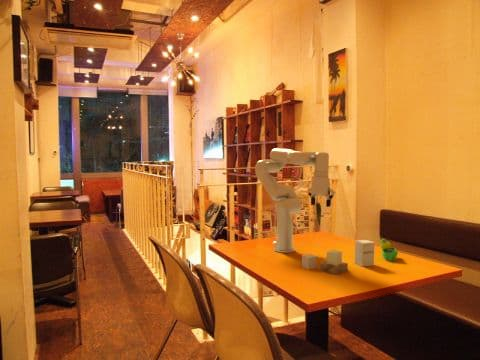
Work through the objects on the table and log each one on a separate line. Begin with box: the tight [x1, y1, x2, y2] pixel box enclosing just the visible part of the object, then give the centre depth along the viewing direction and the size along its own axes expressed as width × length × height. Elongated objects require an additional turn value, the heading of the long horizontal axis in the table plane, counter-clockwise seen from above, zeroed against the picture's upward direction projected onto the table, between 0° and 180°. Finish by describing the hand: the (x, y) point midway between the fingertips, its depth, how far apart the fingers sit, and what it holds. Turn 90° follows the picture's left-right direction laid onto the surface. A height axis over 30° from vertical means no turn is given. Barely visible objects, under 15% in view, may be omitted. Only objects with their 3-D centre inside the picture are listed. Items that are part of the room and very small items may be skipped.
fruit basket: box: [379, 238, 399, 262], centre depth 215 cm, size 11×9×11 cm
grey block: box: [301, 253, 318, 270], centre depth 197 cm, size 6×6×6 cm
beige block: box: [326, 249, 343, 266], centre depth 191 cm, size 6×6×6 cm
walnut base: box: [319, 260, 349, 276], centre depth 192 cm, size 10×10×4 cm
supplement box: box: [354, 239, 375, 268], centre depth 202 cm, size 7×7×13 cm
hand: (320, 205), depth 209 cm, fingers open, 9 cm apart
